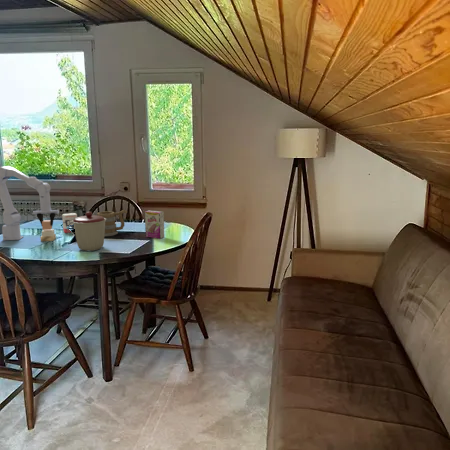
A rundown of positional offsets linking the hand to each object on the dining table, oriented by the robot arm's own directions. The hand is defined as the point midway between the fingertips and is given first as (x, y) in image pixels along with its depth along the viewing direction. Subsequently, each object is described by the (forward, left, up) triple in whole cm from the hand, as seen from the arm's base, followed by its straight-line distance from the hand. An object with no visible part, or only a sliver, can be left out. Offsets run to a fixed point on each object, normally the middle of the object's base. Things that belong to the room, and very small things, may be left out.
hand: (47, 225), depth 255 cm
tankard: (+37, +11, -9) cm, 40 cm away
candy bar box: (+64, -4, -9) cm, 65 cm away
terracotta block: (0, 0, -2) cm, 2 cm away
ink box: (+9, +21, -9) cm, 24 cm away
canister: (+29, -26, -9) cm, 40 cm away
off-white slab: (0, 0, -6) cm, 6 cm away
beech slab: (0, 0, -9) cm, 9 cm away
